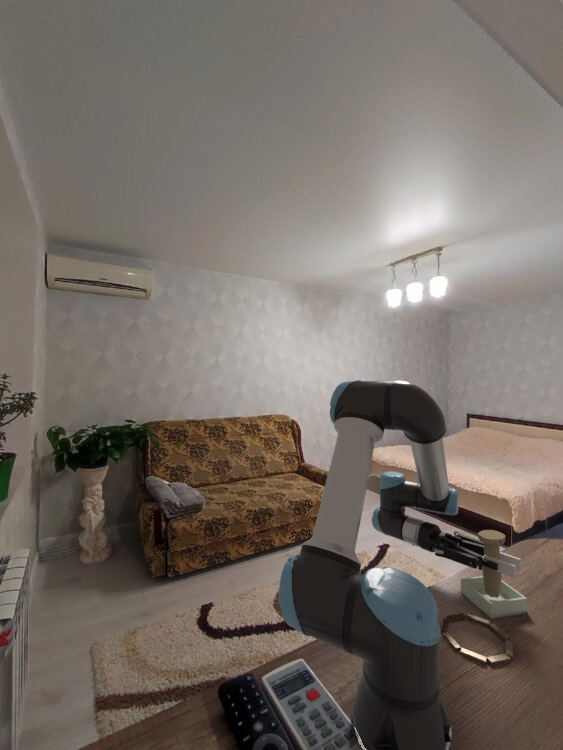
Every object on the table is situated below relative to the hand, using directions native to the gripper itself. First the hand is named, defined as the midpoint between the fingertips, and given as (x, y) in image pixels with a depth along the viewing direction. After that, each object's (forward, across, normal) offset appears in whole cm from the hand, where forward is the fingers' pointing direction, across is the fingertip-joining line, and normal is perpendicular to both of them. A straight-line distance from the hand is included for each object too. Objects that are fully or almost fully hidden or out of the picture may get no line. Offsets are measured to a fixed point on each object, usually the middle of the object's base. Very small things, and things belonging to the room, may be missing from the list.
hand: (517, 568), depth 81 cm
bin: (-5, 0, -11) cm, 12 cm away
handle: (-5, 0, -9) cm, 11 cm away
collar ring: (-4, +16, -11) cm, 20 cm away
